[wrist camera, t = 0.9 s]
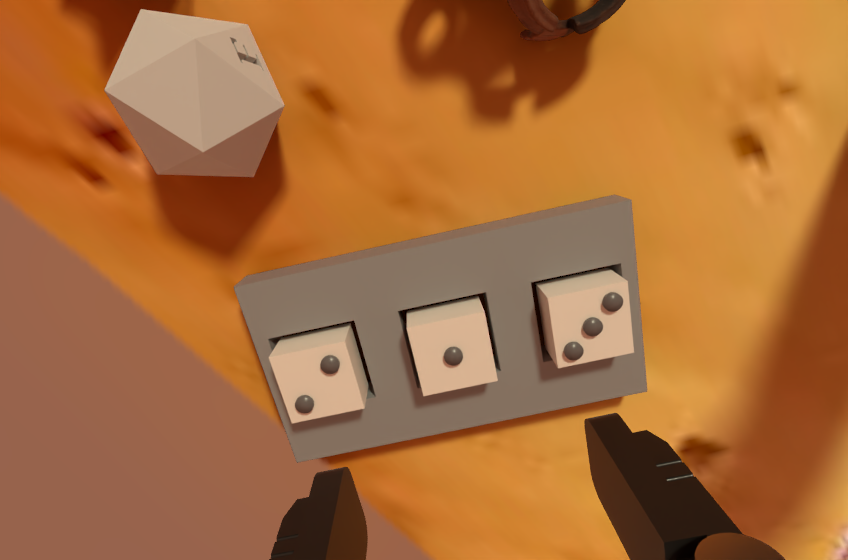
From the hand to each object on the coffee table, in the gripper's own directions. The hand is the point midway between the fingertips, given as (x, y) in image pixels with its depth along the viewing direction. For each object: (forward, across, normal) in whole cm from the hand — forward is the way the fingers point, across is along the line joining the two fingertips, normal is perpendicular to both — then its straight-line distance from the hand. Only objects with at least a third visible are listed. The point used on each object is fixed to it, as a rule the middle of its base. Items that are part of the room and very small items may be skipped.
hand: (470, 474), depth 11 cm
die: (+23, +10, -12) cm, 28 cm away
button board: (+22, 0, +6) cm, 23 cm away
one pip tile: (+21, 0, +6) cm, 22 cm away
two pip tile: (+21, +9, +6) cm, 24 cm away
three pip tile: (+21, -9, +6) cm, 24 cm away
